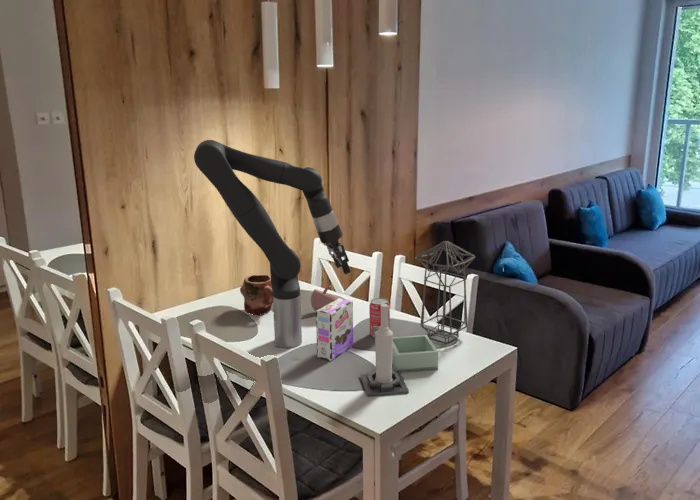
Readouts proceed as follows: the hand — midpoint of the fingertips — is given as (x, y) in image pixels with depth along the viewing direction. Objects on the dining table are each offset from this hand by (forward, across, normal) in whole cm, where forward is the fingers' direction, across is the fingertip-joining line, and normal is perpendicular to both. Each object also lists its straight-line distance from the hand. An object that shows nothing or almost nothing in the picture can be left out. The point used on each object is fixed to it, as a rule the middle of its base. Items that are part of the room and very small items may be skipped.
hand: (343, 269), depth 201 cm
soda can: (+28, 0, +4) cm, 29 cm away
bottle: (+26, +33, -8) cm, 43 cm away
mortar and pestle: (+24, -26, -7) cm, 36 cm away
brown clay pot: (+16, -37, -29) cm, 50 cm away
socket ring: (+26, +33, -8) cm, 43 cm away
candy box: (+23, +7, -14) cm, 27 cm away
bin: (+30, +22, +6) cm, 38 cm away
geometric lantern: (+35, +9, +22) cm, 43 cm away
